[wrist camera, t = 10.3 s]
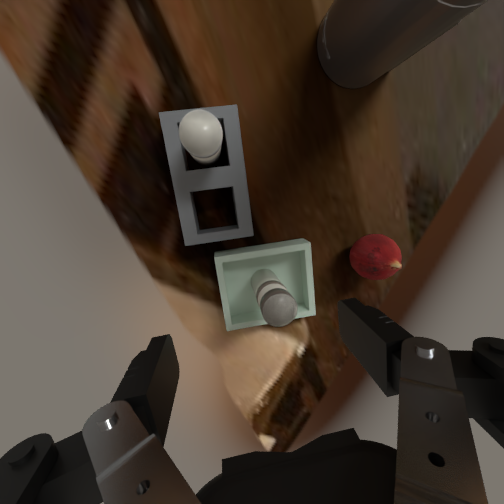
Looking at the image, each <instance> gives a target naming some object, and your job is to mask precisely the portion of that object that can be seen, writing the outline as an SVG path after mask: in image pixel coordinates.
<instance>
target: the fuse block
mask: <svg viewBox="0 0 504 504" xmlns="http://www.w3.org/2000/svg"><path fill="white" fill-rule="evenodd" d="M198 109H201V110H206V111H208V112H210V113H212V114H213V115H214V116H215V117H216V118H217V119H218V120H219V122H220V124H221V126H223V132H224V139H225V146H226V153H227V160H228V166H223V167H215V168H207V169H198V170H190V171H189V169H188V163H187V157H186V152H185V148H184V146H183V145H182V143H181V141H180V138H179V125H180V122H181V120H182V118H183V117H184V116H185V115H186V114H187V113H188V112H190V111H193V110H198ZM198 109H188V110H178V111H168V112H159V116H160V121H161V126H162V131H163V136H164V142H165V147H166V152H167V157H168V162H169V167H170V172H171V177H172V182H173V187H174V192H175V197H176V202H177V207H178V212H179V217H180V222H181V227H182V232H183V237H184V242H185V246H189V245H196V244H202V243H209V242H216V241H222V240H229V239H236V238H242V237H249V236H254V234H253V226H252V219H251V211H250V203H249V195H248V187H247V179H246V172H245V164H244V156H243V148H242V140H241V133H240V125H239V117H238V109H237V105H228V106H218V107H208V108H198ZM226 187H231V188H232V194H233V201H234V208H235V215H236V222H237V225H232V226H225V227H218V228H211V229H204V230H200V229H199V224H198V218H197V213H196V207H195V202H194V196H193V192H195V191H203V190H210V189H218V188H226Z"/></svg>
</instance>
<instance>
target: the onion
mask: <svg viewBox="0 0 504 504" xmlns="http://www.w3.org/2000/svg"><path fill="white" fill-rule="evenodd" d="M349 259H350V263H351V267H352V268H353V269H354V270H355V271H356V272H357V273H358V274H359V275H360V276H362V277H365V278H368V279H371V280H382V279H386V278H388V277H390V276H392V275H393V274H395V273H396V272H397V271H398V269H401V267H402V265H401V259H402V256H401V251H400V248H399V247H398V246H397V244H396V243H395V242H394V241H393V240H392V239H390V238H388V237H386V236H384V235H382V234H369V235H366V236H363V237H361V238H360V239H359V240H357V241H356V242H355V243H354V245H353V246H352V248H351V250H350V255H349Z"/></svg>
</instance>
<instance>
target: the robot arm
mask: <svg viewBox="0 0 504 504" xmlns="http://www.w3.org/2000/svg"><path fill="white" fill-rule="evenodd" d="M487 1H488V0H334V2H333V3H332V5H331V7H330V8H329V10H328V12H327V13H326V15H325V17H324V18H323V20H322V23H321V25H320V28H319V33H318V37H317V50H318V57H319V60H320V63H321V66H322V68H323V69H324V71H325V73H326V74H327V75H328V77H329V78H330V79H331V80H332V81H334V82H335V83H336V84H338V85H340V86H342V87H345V88H352V89H354V88H361V87H364V86H366V85H368V84H370V83H371V82H373V81H375V80H376V79H377V78H379V77H380V76H382V75H383V74H384V73H386V72H387V71H391V70H392V69H394V68H395V67H397V66H398V65H400V64H401V63H402V62H404V61H405V60H407V59H408V58H410V57H411V56H412V55H414V54H415V53H417V52H418V51H420V50H421V49H422V48H424V47H425V46H427V45H428V44H430V43H431V42H432V41H434V40H435V39H437V38H438V37H440V36H441V35H443V34H444V33H445V32H447V31H448V30H450V29H451V28H453V27H454V26H455V25H457V24H458V23H459V22H460V21H461V19H463V18H464V17H465V16H467V15H468V14H470V13H471V12H473V11H474V10H475V9H477V8H478V7H480V6H481V5H482V4H484V3H485V2H487ZM338 317H339V330H340V335H341V338H342V340H343V342H344V343H345V344H346V346H347V347H348V348H349V350H350V351H351V352H352V353H353V355H354V356H355V357H356V358H357V360H358V361H359V362H360V363H361V365H362V366H363V367H364V368H365V370H366V371H367V372H368V373H369V375H370V376H371V377H372V378H373V380H374V381H375V382H376V383H377V384H378V386H379V387H380V388H381V390H382V391H383V392H384V394H385V395H386V396H387V397H389V396H393V395H398V394H399V410H398V433H397V434H398V435H397V450H396V449H394V448H392V447H390V446H387V445H384V444H382V443H378V442H374V441H367V440H360V439H359V437H358V435H357V433H356V432H355V430H354V428H351V429H347V430H343V431H339V432H334V433H330V434H326V435H322V436H320V437H318V438H317V439H315V440H313V441H311V442H310V443H308V444H306V445H304V446H302V447H301V448H299V449H297V450H295V451H293V452H258V451H255V452H251V453H247V454H243V455H238V456H234V457H230V458H226V459H222V473H221V474H219V475H218V476H216V477H215V478H214V479H212V480H211V481H209V482H208V483H207V484H206V485H205V486H204V487H203V488H201V490H199V492H198V493H197V494H196V495H195V493H194V492H193V491H192V489H191V488H190V486H189V485H188V483H187V482H186V480H185V479H184V477H183V476H182V474H181V473H180V471H179V470H178V468H177V467H176V466H175V464H174V463H173V461H172V460H171V458H170V457H169V455H168V454H167V452H166V451H165V449H164V448H163V447H164V442H165V438H166V433H167V429H168V424H169V420H170V416H171V411H172V407H173V402H174V397H175V393H176V389H177V384H178V379H179V363H178V360H177V356H176V352H175V349H174V345H173V341H172V338H171V336H170V334H168V335H163V336H158V337H153V338H152V339H151V341H150V343H149V345H148V347H147V350H145V351H141V352H140V353H139V354H138V355H137V356H136V357H135V358H134V359H133V360H132V362H131V364H130V365H129V367H128V370H127V371H126V373H125V375H124V378H123V379H122V381H121V383H120V385H119V387H118V389H117V391H116V392H115V394H114V396H113V398H112V400H111V402H110V403H109V404H107V405H105V406H103V407H101V408H100V409H98V410H97V411H96V412H94V413H93V414H92V415H91V416H90V418H88V420H87V421H86V423H85V424H84V427H83V429H82V431H80V432H78V433H76V434H74V435H72V436H70V437H68V438H65V439H63V440H61V441H59V442H57V443H54V441H53V439H52V437H51V436H50V435H49V434H46V433H45V434H38V435H34V436H32V437H30V438H27V439H26V440H24V441H22V442H20V443H19V444H17V445H16V446H14V447H13V448H12V449H10V450H9V451H8V452H7V453H6V454H5V455H4V456H3V457H2V458H1V459H0V504H100V503H102V502H104V504H488V500H487V496H486V492H485V487H484V483H483V479H482V474H481V470H480V466H479V461H478V457H477V453H476V448H475V444H474V440H473V435H472V431H471V427H470V422H469V418H473V419H474V420H475V421H476V422H477V423H478V424H479V425H480V426H481V427H482V428H483V429H484V430H486V432H488V433H489V434H490V435H491V436H492V437H493V438H494V439H495V440H496V441H497V442H498V443H499V444H500V445H501V446H502V447H503V448H504V339H500V338H493V337H481V338H477V339H475V340H474V341H473V348H472V351H458V350H457V351H456V350H448V349H447V348H446V347H445V346H444V345H443V344H441V343H439V342H437V341H435V340H432V339H429V338H424V337H414V336H412V335H411V334H410V333H409V332H407V331H406V330H405V329H403V328H402V327H401V326H399V325H398V324H397V323H395V322H393V320H392V319H390V318H389V317H387V316H386V315H385V314H384V313H383V312H381V311H380V310H378V309H376V308H373V307H371V306H365V305H363V304H362V303H361V302H360V301H358V300H357V299H356V298H350V299H345V300H340V301H338Z"/></svg>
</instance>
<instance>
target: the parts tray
mask: <svg viewBox="0 0 504 504" xmlns="http://www.w3.org/2000/svg"><path fill="white" fill-rule="evenodd" d="M214 259H215V265H216V271H217V277H218V283H219V289H220V294H221V300H222V306H223V312H224V318H225V324H226V330H227V331H231V330H237V329H242V328H247V327H253V326H258V325H264V324H268V323H267V322H266V321H265V320H264V318H263V316H262V313H261V310H260V307H259V305H258V303H257V300H256V296H255V294H254V291H253V289H252V286H251V278H252V276H253V274H254V273H255V272H256V271H258V270H260V269H269V270H271V271H273V272H274V273H275V275H276V276H277V277H278V279H279V280H280V281H281V283H282V284H283V285H284V286H285V287H286V289H287V290H288V292H289V293H290V294H291V295H292V297H293V298H294V299H295V301H296V303H297V307H298V310H297V314H296V317H295V318H294V319H296V318H302V317H307V316H312V315H316V312H315V298H314V284H313V270H312V256H311V242H309V241H307V240H305V239H303V238H301V239H294V240H288V241H281V242H275V243H268V244H262V245H255V246H249V247H242V248H236V249H229V250H223V251H216V252H214Z"/></svg>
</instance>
